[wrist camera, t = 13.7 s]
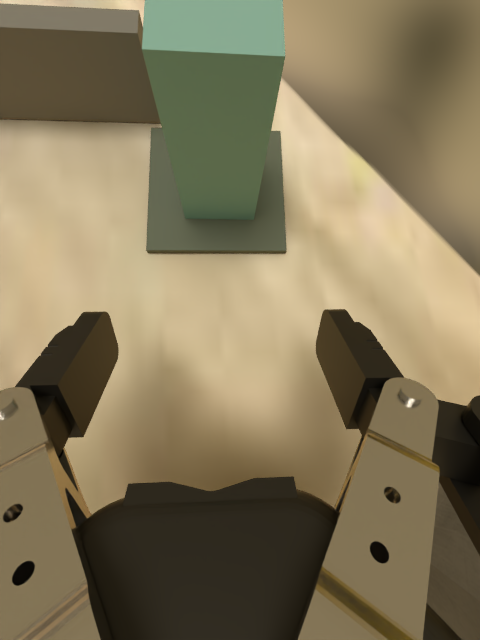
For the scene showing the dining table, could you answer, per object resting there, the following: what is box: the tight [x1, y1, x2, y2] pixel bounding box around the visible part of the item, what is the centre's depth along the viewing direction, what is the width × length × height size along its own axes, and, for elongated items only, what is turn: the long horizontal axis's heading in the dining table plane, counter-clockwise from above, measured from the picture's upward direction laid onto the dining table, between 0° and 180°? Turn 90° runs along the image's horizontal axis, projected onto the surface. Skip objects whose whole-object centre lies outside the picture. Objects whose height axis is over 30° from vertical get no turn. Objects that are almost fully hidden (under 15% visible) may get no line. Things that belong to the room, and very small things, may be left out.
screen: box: [0, 4, 161, 123], centre depth 18 cm, size 18×4×6 cm, turn 91°
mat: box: [146, 128, 286, 253], centre depth 19 cm, size 9×9×1 cm
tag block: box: [142, 0, 285, 220], centre depth 14 cm, size 4×5×10 cm
